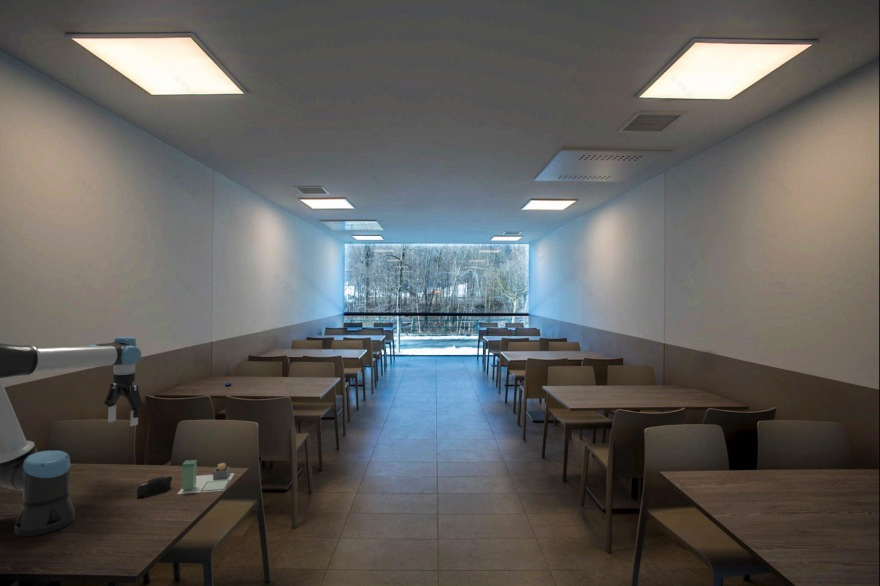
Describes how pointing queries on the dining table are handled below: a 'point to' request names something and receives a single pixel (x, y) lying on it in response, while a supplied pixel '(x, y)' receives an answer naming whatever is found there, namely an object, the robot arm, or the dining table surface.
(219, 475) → the button housing
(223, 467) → the button
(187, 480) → the green rectangular block
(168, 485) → the rock
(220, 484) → the board
